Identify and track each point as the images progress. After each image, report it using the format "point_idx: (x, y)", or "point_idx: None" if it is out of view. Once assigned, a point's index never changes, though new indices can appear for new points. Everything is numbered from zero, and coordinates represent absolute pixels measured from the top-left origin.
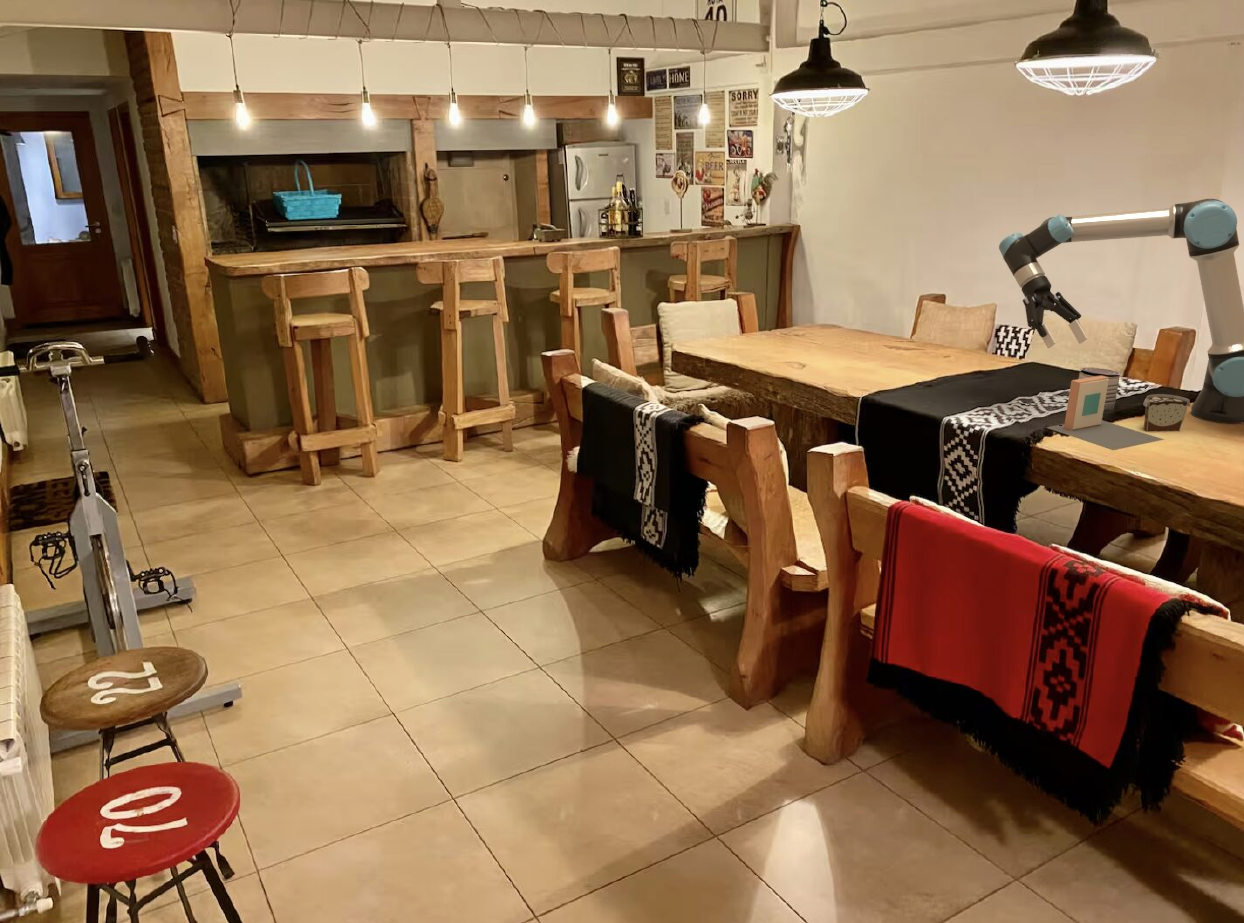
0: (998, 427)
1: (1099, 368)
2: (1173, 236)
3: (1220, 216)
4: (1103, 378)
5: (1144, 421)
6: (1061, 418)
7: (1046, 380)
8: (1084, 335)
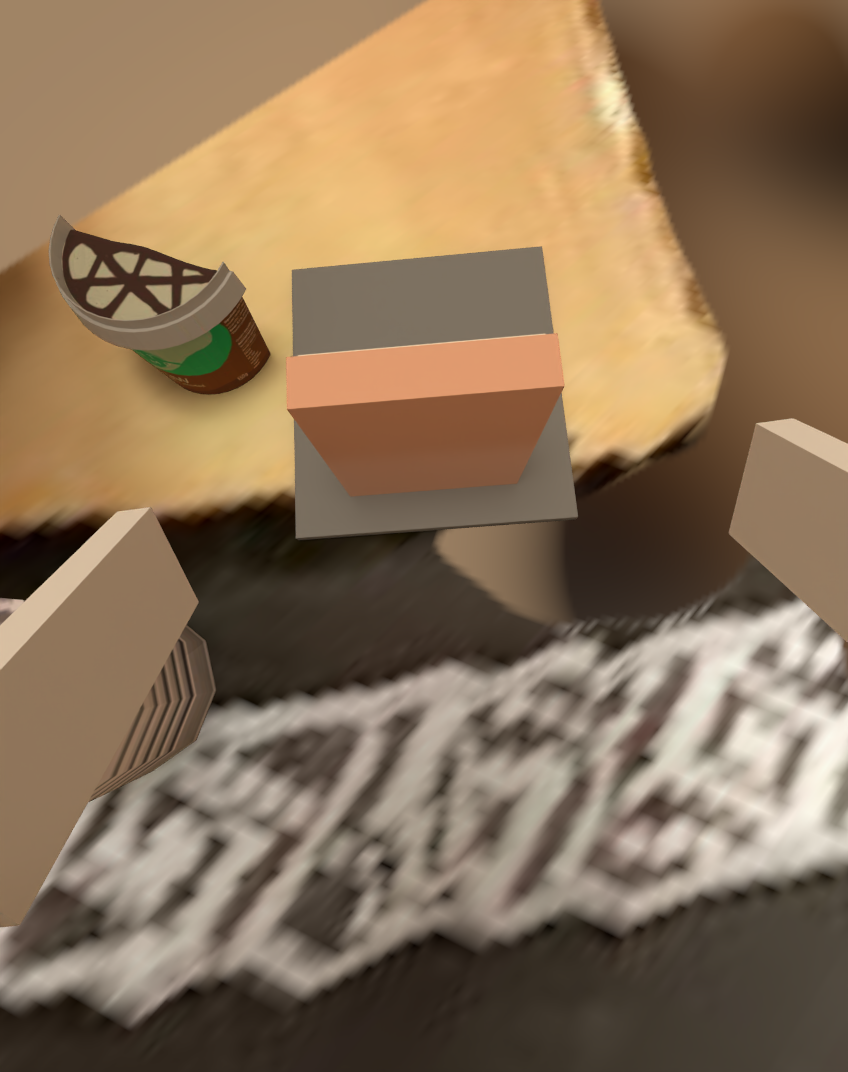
0: (735, 621)
1: None
2: None
3: None
4: (337, 352)
5: (240, 356)
6: (394, 616)
7: None
8: (127, 532)
